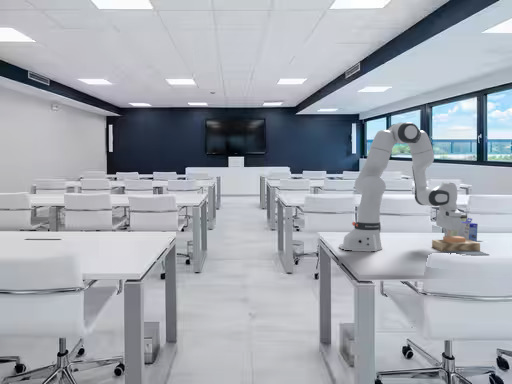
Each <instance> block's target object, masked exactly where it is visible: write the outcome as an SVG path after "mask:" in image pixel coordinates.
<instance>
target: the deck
mask: <svg viewBox="0 0 512 384" xmlns="http://www.w3.org/2000/svg"><path fill="white" fill-rule="evenodd" d="M431 248H433V249H436V250H438V251H440V252H444V251H466V250H478V251H481V243H480V242H478V241H477V242H475V241H472V240H469V239H466V242H447V241H444V240H443V239H432V240H431Z"/></svg>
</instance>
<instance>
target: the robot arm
mask: <svg viewBox="0 0 512 384" xmlns="http://www.w3.org/2000/svg"><path fill="white" fill-rule="evenodd" d="M396 144H399V145H400V144H401V145H402V144H406V145H407V146H408V147H409V151H410V156H411V160H412V165H411V166H412V167H411V168H412V174H413V176H412V177H413V182H414V188H415V190H414V199H415V202H416V203H417V204H418V205H419V206H429V207H430V206H431V207H439V208H438V209H439V210H438V213H437V214H436V227H439V228H441V229H443V233H444V235H443V236H450V234H451V231H459V230H460V226H461V219H460V217H461V215H462V212H461V211H459V209H458V205H457V200H458V187H457V185H456V184H455V183H453V182H447V181H442V182H441V183H439V185H437V186H434V187H433V188H431V187H429V186H428V183H427V178H426V170H427V168H429V167H430V166H432V164H433V162H434V160H435V154H434V150H433V145H432V143H431V139H430V138H429V135H428V133H427V132H426V131H425V130H420V129H419V127H418V126H417V124H415V123H413V122H409V121H408V122H407V121H406V122H398V123H393V124H391V125H390V126H389V127H388V128H387V129H381V130H379V131H377V132H376V134H375V135H374V137H373V140H372V142H371V144H370V147H369V150H368V154H367V156H366V160H365V162H364V164H363V167H362V168H361V170H360V173H359V174H358V177H357V178H356V179H355V181H354V189H355V190H356V192H357V193H359V194H360V195H361V198H360V202H359V205H358V211H357V212H358V213H357V215H358V216H357V217H358V218H357V221H352V223H351V225H352V226H354V228H353V229H352V230H351V231H349V232H348V233H346V235H344V238H343V241H342V242H343V243H340V244H339V245H338V248H339V247H340V248H341V249H340V248H339V249H340V250H342V249H344V250H343V251H345V250H352V251H351V252H371V251H375V252H377V251H382V250H383V246H382V242H381V241H382V240H381V230H382V229H381V221H380V217H381V211H380V210H381V204H382V199H383V196H384V195H383V194H384V193H385V191H386V188H387V187H386V182H385V180H383V179H382V178H381V176H382V174H383V172H384V171H385V170H386V169H387V167H388V163H389V161H390V158H391V154H392V151H393V149H394V146H395V145H396Z"/></svg>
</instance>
